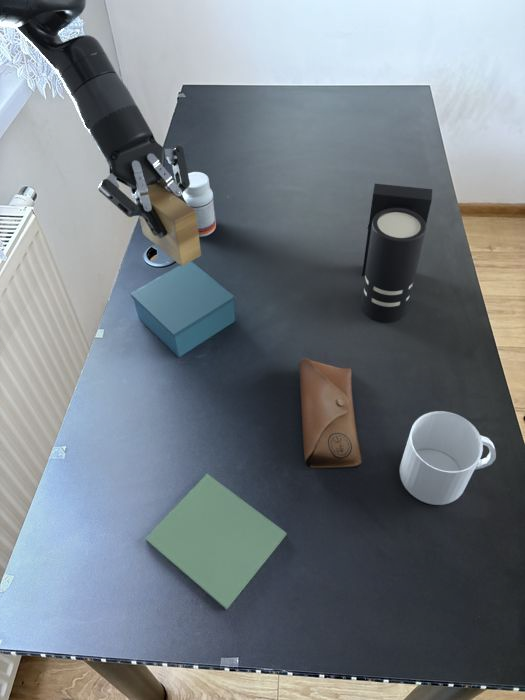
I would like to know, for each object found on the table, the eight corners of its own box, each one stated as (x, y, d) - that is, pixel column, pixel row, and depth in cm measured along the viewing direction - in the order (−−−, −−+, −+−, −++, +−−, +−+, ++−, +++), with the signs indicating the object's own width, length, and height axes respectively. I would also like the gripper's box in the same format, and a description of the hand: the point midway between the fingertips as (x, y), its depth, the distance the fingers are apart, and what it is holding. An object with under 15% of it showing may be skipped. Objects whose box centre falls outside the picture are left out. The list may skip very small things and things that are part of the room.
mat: (226, 610, 72) (226, 608, 72) (145, 540, 78) (145, 538, 78) (286, 534, 78) (286, 532, 78) (207, 475, 84) (207, 473, 83)
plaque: (201, 255, 87) (195, 210, 81) (181, 266, 86) (174, 221, 80) (162, 224, 92) (154, 179, 86) (142, 234, 91) (133, 189, 85)
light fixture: (353, 318, 102) (364, 236, 89) (362, 265, 111) (372, 183, 97) (411, 326, 101) (431, 244, 87) (415, 271, 109) (434, 189, 96)
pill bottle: (187, 218, 121) (180, 169, 113) (217, 218, 121) (212, 169, 112) (183, 237, 117) (175, 189, 109) (214, 238, 117) (209, 189, 108)
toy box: (237, 321, 103) (234, 296, 98) (178, 359, 98) (173, 334, 93) (193, 284, 109) (189, 259, 104) (136, 318, 104) (130, 293, 99)
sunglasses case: (366, 465, 84) (344, 444, 79) (321, 479, 86) (298, 459, 82) (351, 365, 95) (332, 342, 91) (312, 380, 98) (292, 358, 94)
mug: (399, 502, 80) (411, 468, 73) (398, 444, 86) (408, 408, 79) (491, 511, 79) (512, 478, 72) (483, 452, 85) (502, 416, 78)
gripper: (71, 125, 76) (142, 246, 79) (163, 88, 82) (225, 202, 85) (62, 147, 82) (127, 257, 86) (147, 111, 88) (205, 215, 91)
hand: (176, 229), depth 85 cm, fingers closed on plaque, 3 cm apart
